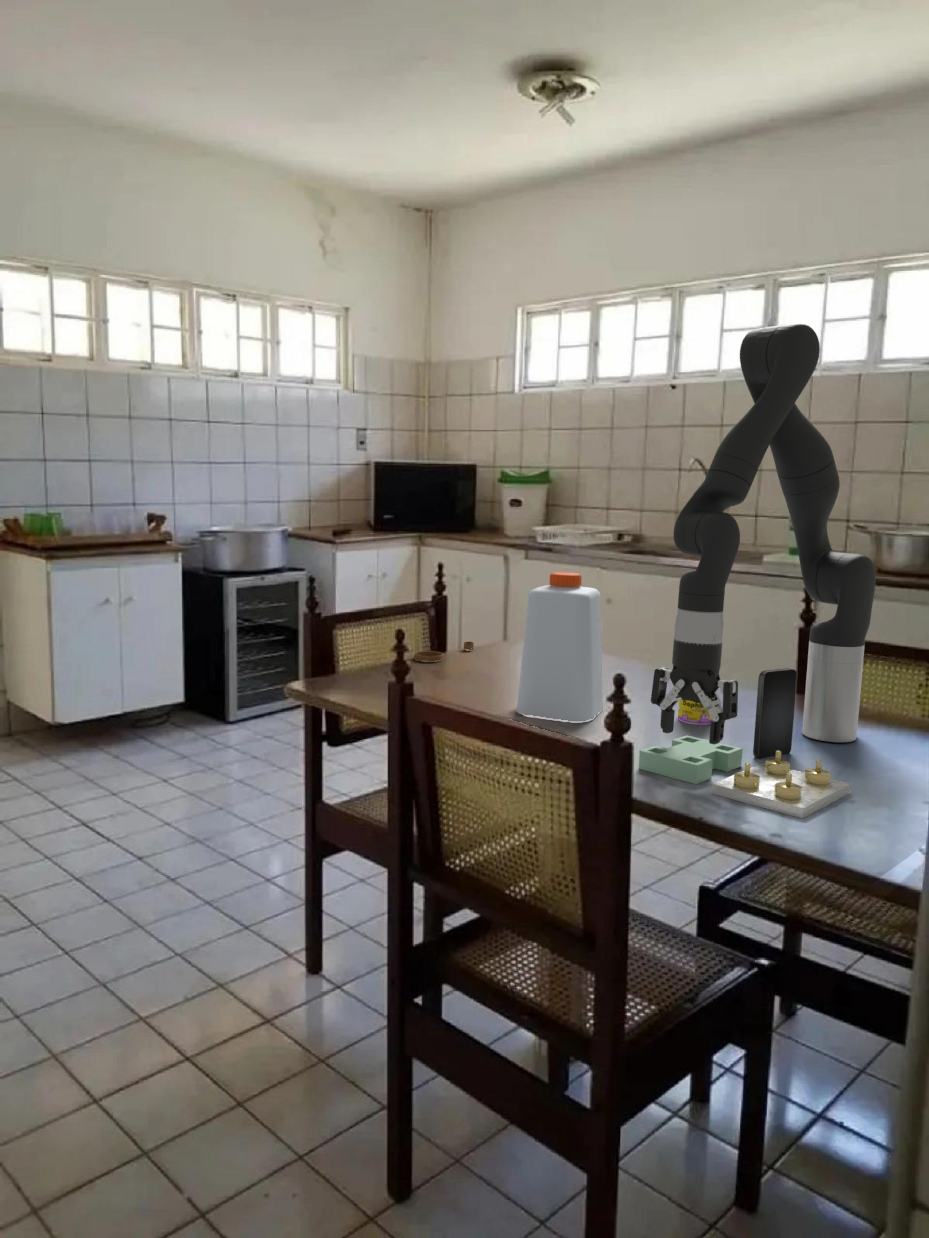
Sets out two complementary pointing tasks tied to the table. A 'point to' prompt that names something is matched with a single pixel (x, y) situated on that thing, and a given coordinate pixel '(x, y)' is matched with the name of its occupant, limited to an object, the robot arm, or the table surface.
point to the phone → (774, 712)
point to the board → (690, 759)
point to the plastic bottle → (562, 651)
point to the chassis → (783, 787)
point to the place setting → (437, 653)
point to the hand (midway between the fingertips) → (690, 737)
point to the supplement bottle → (693, 713)
